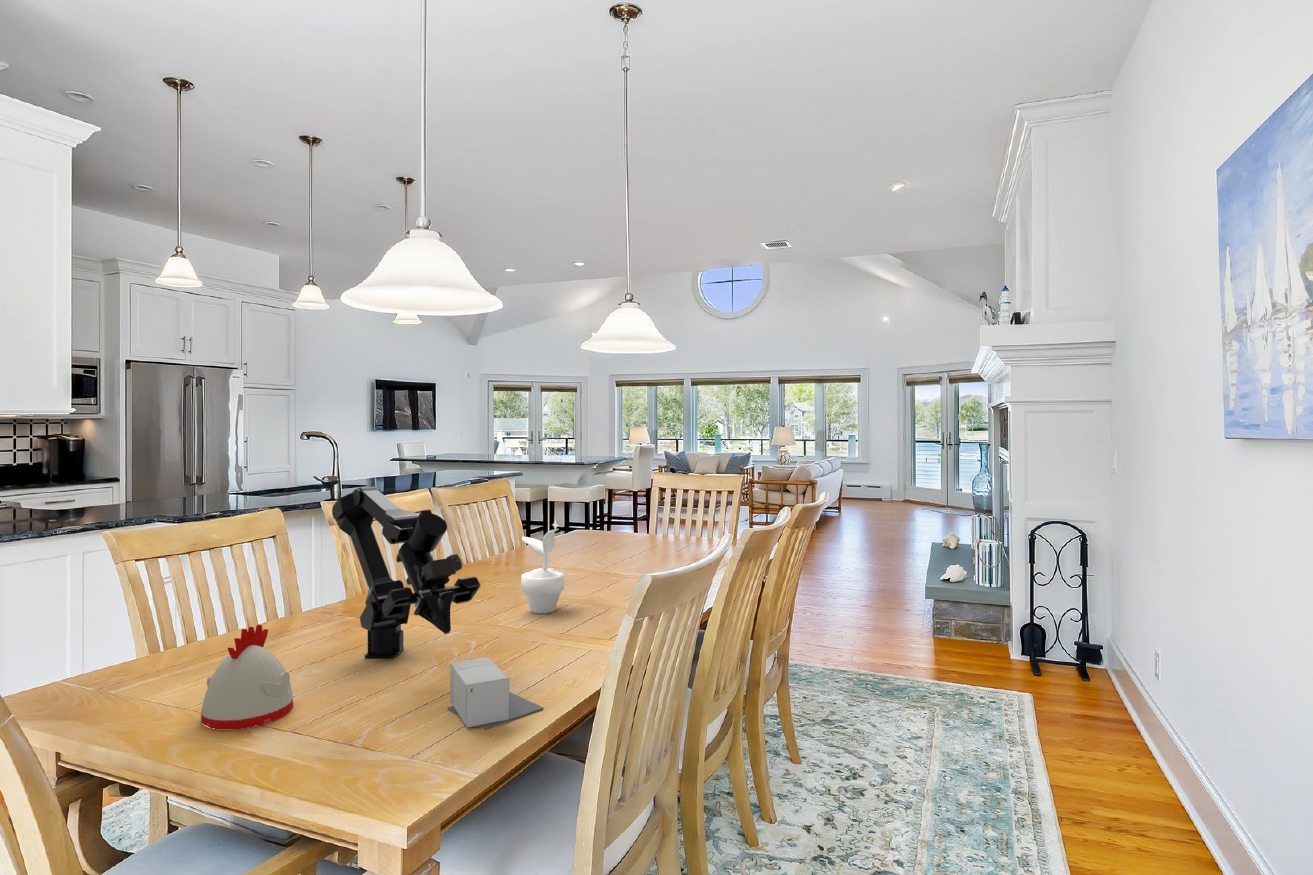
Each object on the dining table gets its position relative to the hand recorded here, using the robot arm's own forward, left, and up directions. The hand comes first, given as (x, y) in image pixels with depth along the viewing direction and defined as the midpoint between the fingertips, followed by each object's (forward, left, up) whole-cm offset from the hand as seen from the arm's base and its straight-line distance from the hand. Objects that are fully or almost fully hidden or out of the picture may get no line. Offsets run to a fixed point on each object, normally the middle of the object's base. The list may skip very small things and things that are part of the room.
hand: (448, 632), depth 139 cm
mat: (+12, -11, -10) cm, 19 cm away
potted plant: (+10, +55, -11) cm, 57 cm away
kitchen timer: (-31, -13, -11) cm, 35 cm away
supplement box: (+6, -7, -6) cm, 11 cm away
